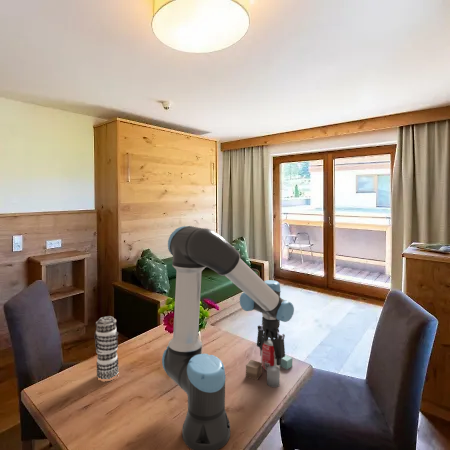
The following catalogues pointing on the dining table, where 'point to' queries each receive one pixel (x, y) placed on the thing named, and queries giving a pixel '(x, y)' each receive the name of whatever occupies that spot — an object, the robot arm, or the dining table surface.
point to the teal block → (286, 362)
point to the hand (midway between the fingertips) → (270, 367)
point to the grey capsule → (273, 376)
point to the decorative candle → (106, 347)
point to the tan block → (253, 369)
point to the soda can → (268, 354)
